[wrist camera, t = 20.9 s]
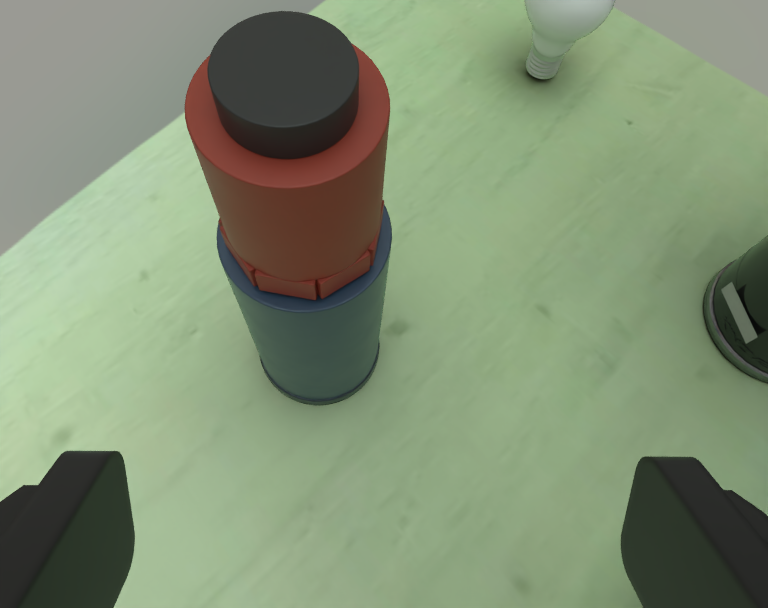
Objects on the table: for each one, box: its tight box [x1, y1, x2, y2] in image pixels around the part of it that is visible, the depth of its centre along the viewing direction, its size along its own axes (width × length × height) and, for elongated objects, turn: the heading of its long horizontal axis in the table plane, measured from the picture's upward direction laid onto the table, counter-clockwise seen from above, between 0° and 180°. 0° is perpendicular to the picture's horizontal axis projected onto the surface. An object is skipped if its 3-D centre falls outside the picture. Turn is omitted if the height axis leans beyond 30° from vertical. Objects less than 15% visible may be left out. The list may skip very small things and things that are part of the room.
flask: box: [217, 205, 392, 405], centre depth 34 cm, size 8×8×17 cm
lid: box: [185, 11, 390, 300], centre depth 23 cm, size 6×6×10 cm
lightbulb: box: [525, 0, 615, 79], centre depth 47 cm, size 6×6×11 cm
